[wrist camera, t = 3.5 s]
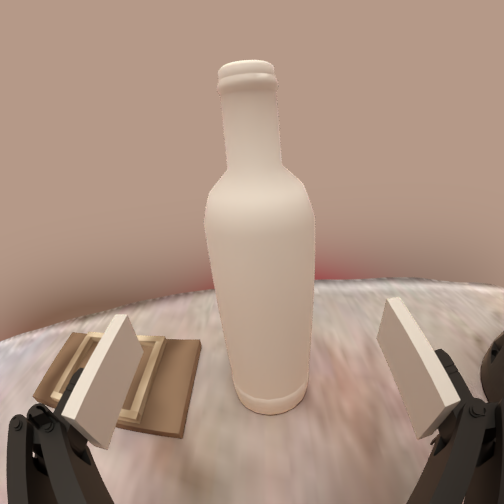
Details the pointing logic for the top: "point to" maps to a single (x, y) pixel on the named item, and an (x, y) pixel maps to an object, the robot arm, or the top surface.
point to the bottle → (261, 246)
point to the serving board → (135, 381)
